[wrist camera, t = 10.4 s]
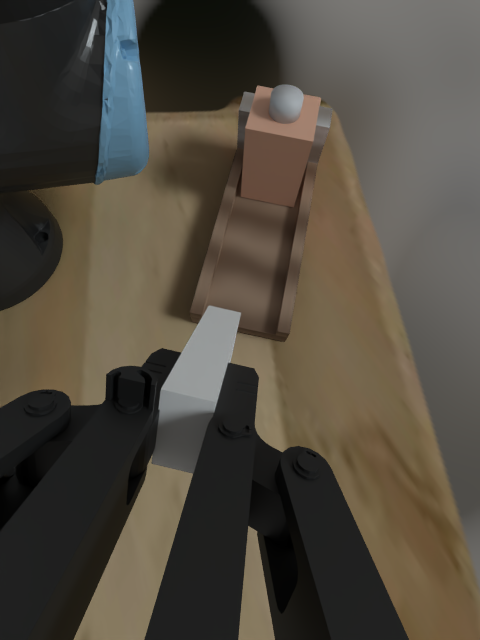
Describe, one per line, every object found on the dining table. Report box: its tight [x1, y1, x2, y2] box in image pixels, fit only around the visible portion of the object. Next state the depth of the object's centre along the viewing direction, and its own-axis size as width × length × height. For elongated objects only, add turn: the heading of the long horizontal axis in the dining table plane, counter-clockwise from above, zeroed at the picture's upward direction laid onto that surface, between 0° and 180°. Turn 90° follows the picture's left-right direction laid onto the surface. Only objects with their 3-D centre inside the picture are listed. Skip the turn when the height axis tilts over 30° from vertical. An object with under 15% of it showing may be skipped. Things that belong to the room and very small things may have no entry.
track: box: [190, 92, 333, 342], centre depth 35 cm, size 25×10×8 cm, turn 168°
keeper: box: [241, 85, 321, 208], centre depth 34 cm, size 6×6×11 cm
